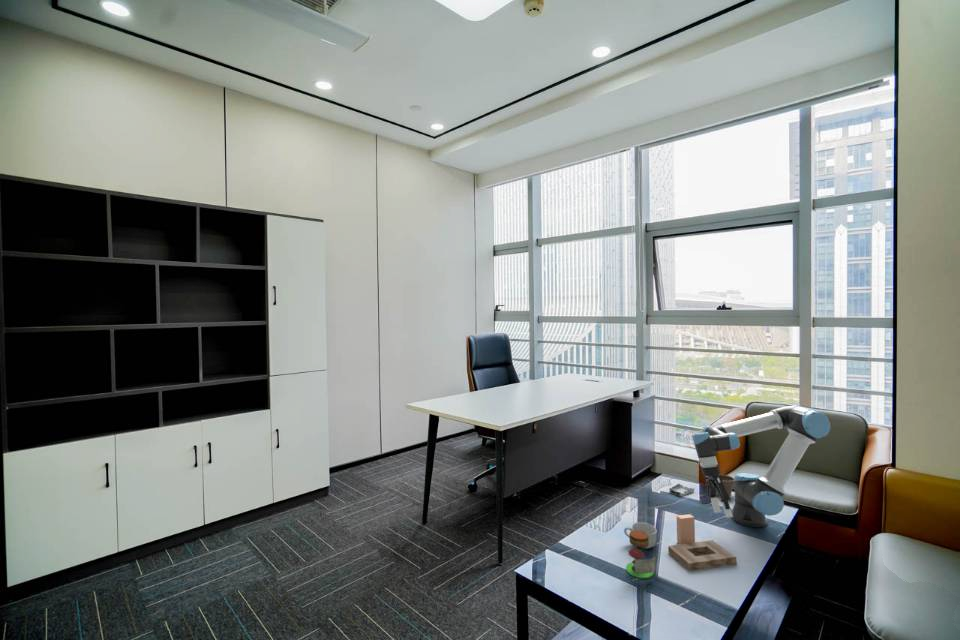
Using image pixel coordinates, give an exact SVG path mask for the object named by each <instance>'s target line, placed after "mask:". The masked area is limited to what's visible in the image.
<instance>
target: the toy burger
mask: <svg viewBox="0 0 960 640" xmlns="http://www.w3.org/2000/svg"><path fill="white" fill-rule="evenodd" d="M628 534H629V536H630V538H629V543H630V544H631V545H632V546H633V547H632V548H631V549H629V551H628V555H629V557H631V558H632V559H633V560H632V561H631V562H629V563H627V565H626V566H625V569H626V572H627V573H628V574H629V575H630V576H632V577H634V576H635V578H637V577H638V578H637V579H650V578H652V577H653V576H654V572H655V571H656V554H655V553H654V557H652V558H649V559H643V558H644V557H645V554H644V552H643V551H642V550H641V549H640V548H641V547H647V546H648V545H649V539H648V534H647V533H645V532H643V531H638V530H635V531H630V532H629V533H628Z"/></svg>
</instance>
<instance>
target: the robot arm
mask: <svg viewBox="0 0 960 640" xmlns="http://www.w3.org/2000/svg"><path fill="white" fill-rule="evenodd" d="M772 429H779V430H781V429H782V430H783V429H787V432H788V435H787V437H786V438H785V440H784V442H783V443H782V445H781V446H780V448H779V449H778V451H777V452H776V454H775V457H774V458H773V460H772V462H771V463H770V464H769V467H768V469H767V470H766V472H765V473H764V475H763V476H760V475H758V474H754V473H743V472H740V473H739V472H738V473H736V474H735V475H734V477H733V478H734V485H733V487H734V504H733V507H732V508H731V506H730V505H731V504H730V502H729V501H730V500H731V498H730V497H729V496H728V493H727V491H726V489H725V487H724V485H723V483H722V480H721V478H718V477H717V475H721V471H720V467H719V466H718V465H719V464H718V460H717V456H716V454H715V453H717V452H723V451H733V450H735V449H739V448H740V446H741V443H740V439H739V437H744V436H748V435H752V434H756V433H760V432H764V431H768V430H772ZM830 431H831V423H830V420H829V418H828V417H827V415H826V414H824V413H823V412H820V411H818V410H816V409H812V408H809V407H805V406H802V405H799V404H798V405H787V406H783V407H782V406H781V407H779V408H774V409H771V410H769V412H766V413H763V414H758V415H755V416H752V417H751V416H750V417H748V418H744V419H740V420H735V421H732V422H728V423H723V424H720V425H716V426H713V425H706V426H704V427H703V428H702V430H701V432H700V433H698V432H697V433H694V434H693V435H692V440H693V445H694V449H695V451H696V453H697V458H698V460H697V462H698V463H699V465H700V467H701V472H702V476H704V480H705V485H706V493H707V494H706V495H707V496H709V498H710V501H711V504H712V505H711V506H712V509H713V512H714V513H715V514H718V513H722V511H721V507H720V504H719V501H718V496H719V497H720V503H721V504H722V508H723V512H724V515H725V518H731V520H733V522H736V523H737V524H738V525H742V526H747V527H752V528H763V527H766V525H767V517H766V516H776V515H778V514H780V513H781V512H782V511H783V510H784V507H785V503H784V500H783V497H784V496H785V494H786V493H785V489H784V488H785V487H786V484H787V483H788V481H789V479H790V477H792V474H793V472H794V471H795V469H796V467H797V466H798V464H799V463H800V462H801V459H802V458H803V456H804V454H805V453H806V451H807V449H808V448H809V446H810V445H811V444H816V443H817V441H818V439H820V438H825V437H826V436H828V434H829V433H830ZM717 492H718V493H717ZM716 494H717V495H716ZM718 494H719V495H718Z"/></svg>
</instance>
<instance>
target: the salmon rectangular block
mask: <svg viewBox="0 0 960 640" xmlns="http://www.w3.org/2000/svg"><path fill="white" fill-rule="evenodd" d="M695 527H696V525H695V516H693V515H692V514H688V513H687V514H681V515H676V542H677V541H678V542H679V543H680V544H687V543H695V542H696V532H695V531H696V528H695ZM678 542H677V543H678ZM679 543H678V544H679Z"/></svg>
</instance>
